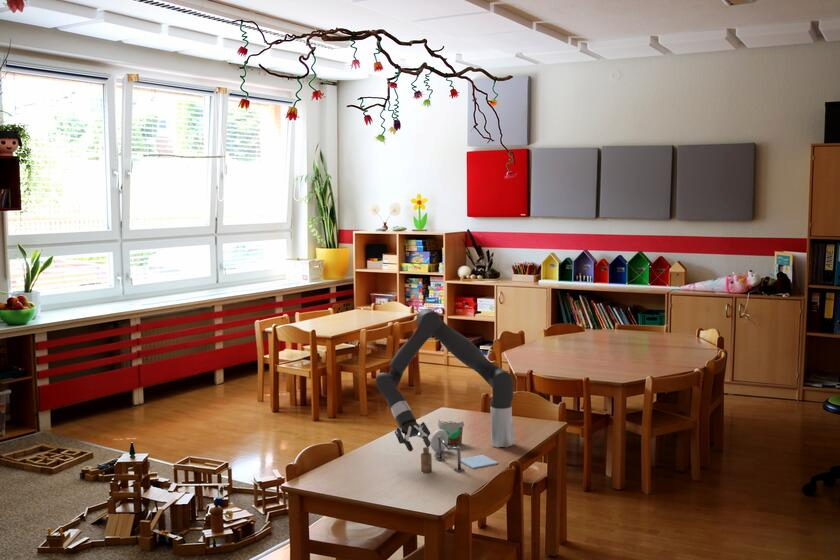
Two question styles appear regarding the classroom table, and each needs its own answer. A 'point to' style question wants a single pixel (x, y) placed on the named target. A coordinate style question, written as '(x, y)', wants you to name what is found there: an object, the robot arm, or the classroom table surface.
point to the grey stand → (449, 449)
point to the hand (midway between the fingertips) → (420, 448)
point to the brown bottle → (426, 461)
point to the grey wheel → (434, 440)
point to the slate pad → (478, 461)
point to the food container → (452, 431)
